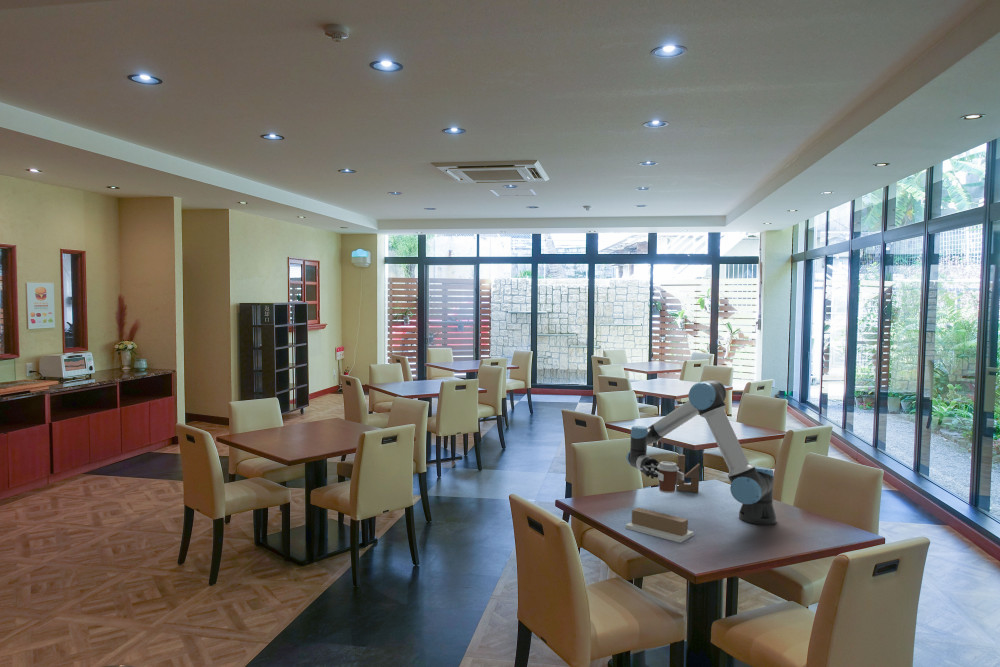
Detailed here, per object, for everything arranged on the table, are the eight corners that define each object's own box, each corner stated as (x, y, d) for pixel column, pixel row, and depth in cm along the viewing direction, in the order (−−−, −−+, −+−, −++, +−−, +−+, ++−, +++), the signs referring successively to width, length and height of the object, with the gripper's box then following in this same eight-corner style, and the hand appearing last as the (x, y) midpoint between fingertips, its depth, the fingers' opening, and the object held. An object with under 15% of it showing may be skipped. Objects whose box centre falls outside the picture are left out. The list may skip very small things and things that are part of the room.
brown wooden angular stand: (698, 492, 324) (699, 457, 324) (676, 490, 327) (677, 455, 326) (698, 491, 328) (699, 455, 327) (676, 489, 330) (677, 453, 330)
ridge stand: (693, 535, 260) (693, 518, 260) (680, 542, 251) (681, 524, 251) (639, 521, 276) (639, 505, 276) (625, 528, 267) (625, 511, 266)
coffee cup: (651, 489, 279) (652, 461, 279) (668, 487, 283) (669, 460, 283) (666, 494, 271) (667, 466, 271) (682, 492, 275) (683, 464, 275)
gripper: (669, 472, 297) (695, 485, 276) (625, 473, 292) (649, 487, 270) (669, 456, 297) (696, 467, 275) (626, 457, 292) (650, 469, 270)
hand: (673, 477), depth 273 cm, fingers closed on coffee cup, 9 cm apart
